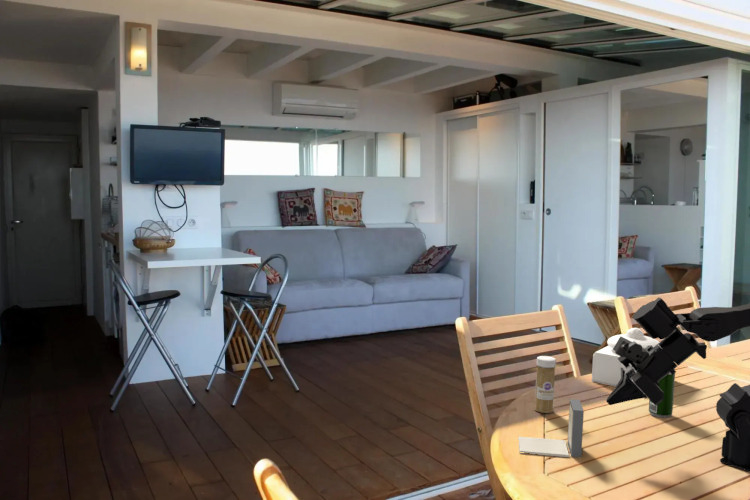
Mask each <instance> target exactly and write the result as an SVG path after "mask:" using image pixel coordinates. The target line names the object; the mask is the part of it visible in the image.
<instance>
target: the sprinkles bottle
mask: <svg viewBox="0 0 750 500" xmlns="http://www.w3.org/2000/svg"><path fill="white" fill-rule="evenodd" d="M556 364H557V359H556V358H555V357H553V356H549V355H539V356H537V357H536V377H535V394H534V396H535V402H534V404H535V406H534V411H536V412H537V413H542V414H550V413H551V414H552V413H553V411H554V397H555V380H556V379H555V369H556V367H557V365H556Z"/></svg>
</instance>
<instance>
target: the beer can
mask: <svg viewBox="0 0 750 500" xmlns="http://www.w3.org/2000/svg"><path fill="white" fill-rule="evenodd" d="M675 381H676V373H674V374H673V375H672V374H671V373H669V374H667V375H666V376H665V377H664V378H662V379H661V380H660V381H659V382H658V383H659V384H660V385H659V386H658V387H659V388H660V389H661V390H662V392H663V393H664V400H663V401H661V402H660V403H659V404H658V405H655V404H654V403H653V402H652V401H651V400H650V399H649V398H648V399H649V400H648V412H649V414H650V415H651V416H653V417H655V418H658V419H659V418H660V419H668V418H669V419H670V418H671V417H672V415H673V410H674V397H675V396H674V393H675Z"/></svg>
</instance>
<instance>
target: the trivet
mask: <svg viewBox="0 0 750 500" xmlns="http://www.w3.org/2000/svg"><path fill="white" fill-rule="evenodd" d="M517 440H519V442H518V450H519V451H520V452H524V453H530V454H529V455H535V454H538V456H546V457H548V456H549V457H550V456H552V457H561V458H570V452H569V448H568V445H567V443H566V440H565V439H553V438H543V437H542V438H541V437H530V436H529V437H528V436H518V437H517ZM520 452H519V453H520ZM524 453H523V454H524ZM531 453H532V454H531Z"/></svg>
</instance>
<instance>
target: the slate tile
mask: <svg viewBox="0 0 750 500" xmlns="http://www.w3.org/2000/svg"><path fill="white" fill-rule="evenodd" d="M568 405H569V406H568V407H569V408H568V427H567V428H568V429H567V430H568V431H567V448H568V452H569V455H570V457H571V458H572V457H573V458H582V452H583V451H582V450H583V449H582V447H583V434H584V433H583V431H584V414H585V411H584V408H583V405H582V402H581V400H580V399H571V398H570V399H569V404H568Z"/></svg>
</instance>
